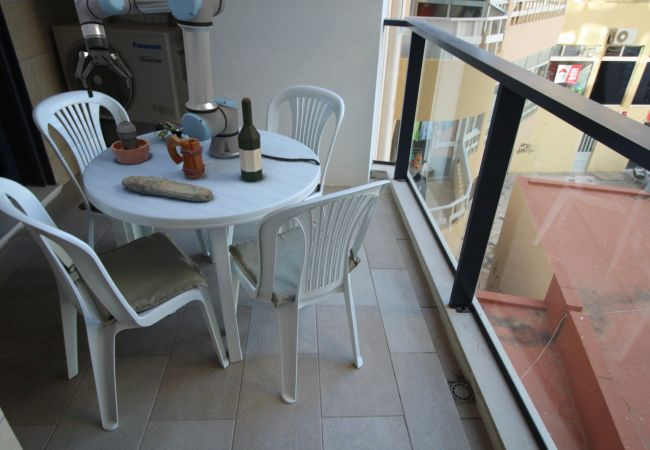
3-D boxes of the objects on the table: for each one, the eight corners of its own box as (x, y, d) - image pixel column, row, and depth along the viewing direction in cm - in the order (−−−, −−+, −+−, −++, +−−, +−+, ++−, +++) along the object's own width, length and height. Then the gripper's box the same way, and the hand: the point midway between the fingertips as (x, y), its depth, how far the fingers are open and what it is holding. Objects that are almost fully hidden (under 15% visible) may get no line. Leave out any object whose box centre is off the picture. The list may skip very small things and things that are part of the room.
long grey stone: (204, 210, 131) (219, 198, 140) (203, 196, 129) (218, 184, 137) (114, 190, 138) (133, 179, 146) (111, 176, 135) (131, 166, 143)
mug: (211, 173, 153) (206, 136, 145) (199, 182, 146) (193, 143, 138) (180, 167, 157) (173, 131, 148) (166, 175, 150) (158, 138, 142)
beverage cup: (136, 162, 160) (123, 113, 149) (120, 160, 161) (106, 111, 150) (146, 155, 166) (135, 108, 155) (130, 153, 167) (119, 106, 156)
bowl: (158, 157, 165) (155, 143, 162) (126, 167, 155) (122, 153, 152) (139, 149, 172) (136, 136, 169) (108, 158, 162) (104, 144, 159)
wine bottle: (245, 183, 146) (237, 102, 130) (238, 175, 152) (230, 96, 136) (266, 179, 149) (261, 100, 133) (258, 171, 156) (253, 94, 140)
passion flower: (180, 149, 187) (192, 130, 182) (166, 153, 177) (178, 133, 172) (162, 133, 186) (173, 114, 181) (147, 137, 176) (159, 116, 171)
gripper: (124, 44, 160) (137, 98, 164) (55, 39, 142) (71, 99, 146) (132, 39, 155) (145, 94, 159) (61, 33, 137) (78, 95, 141)
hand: (110, 97), depth 153 cm, fingers open, 13 cm apart
